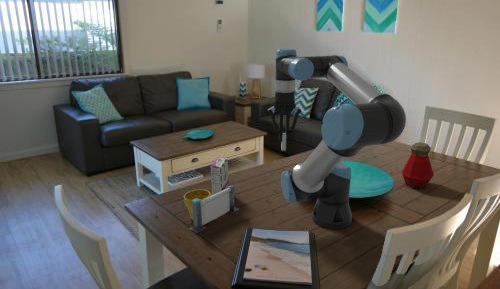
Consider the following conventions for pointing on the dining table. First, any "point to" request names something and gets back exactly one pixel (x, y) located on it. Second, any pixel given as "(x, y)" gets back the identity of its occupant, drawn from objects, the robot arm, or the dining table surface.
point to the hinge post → (232, 203)
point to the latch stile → (197, 216)
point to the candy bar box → (219, 175)
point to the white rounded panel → (215, 205)
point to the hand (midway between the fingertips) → (283, 149)
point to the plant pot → (192, 195)
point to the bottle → (418, 166)
